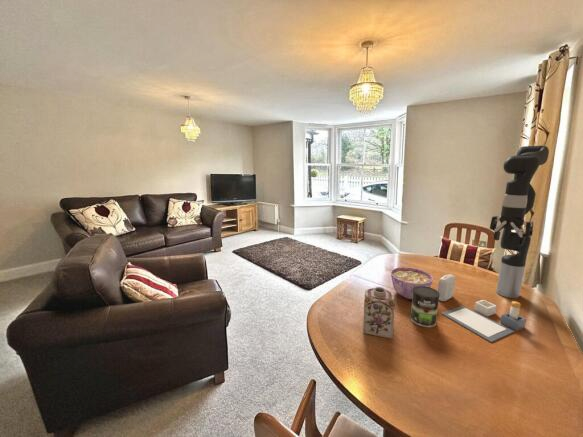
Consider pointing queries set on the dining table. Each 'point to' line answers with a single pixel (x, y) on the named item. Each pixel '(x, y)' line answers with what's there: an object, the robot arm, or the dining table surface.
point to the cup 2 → (513, 322)
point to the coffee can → (424, 306)
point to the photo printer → (446, 287)
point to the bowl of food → (409, 280)
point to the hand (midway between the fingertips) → (507, 242)
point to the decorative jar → (379, 312)
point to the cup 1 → (485, 307)
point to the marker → (514, 310)
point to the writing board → (478, 323)
